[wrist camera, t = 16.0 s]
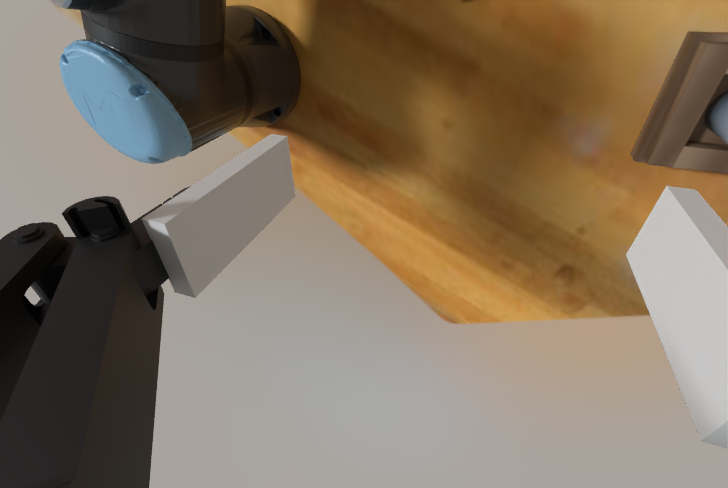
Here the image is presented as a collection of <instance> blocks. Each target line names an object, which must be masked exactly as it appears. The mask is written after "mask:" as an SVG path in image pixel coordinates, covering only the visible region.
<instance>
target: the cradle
mask: <svg viewBox="0 0 728 488" xmlns="http://www.w3.org/2000/svg"><path fill="white" fill-rule="evenodd" d="M726 91H728V33H724V32H689V31H688V33H687V35H686V37H685V39H684V41H683V43H682V46H681V48H680V50H679V52H678V54H677V56H676V58H675V60H674V63H673V65H672V67H671V69H670V71H669V73H668V75H667V77H666V80H665V82H664V84H663V86H662V88H661V90H660V92H659V95H658V97H657V99H656V101H655V103H654V105H653V107H652V109H651V112H650V114H649V116H648V118H647V120H646V122H645V124H644V126H643V129H642V131H641V133H640V135H639V137H638V139H637V141H636V143H635V146H634V148H633V150H632V152H631V154H630V155H631V156H632V158H633V160H634V161H637V162H645V163H647V164H649V165H657V166H666V167H674V168H682V169H691V170H699V171H707V172H716V173H724V174H728V144H727V143H725V142H724V141H723V140H722V139H720V138H719V137H718V136H717V135H715V134H714V133H713V132H712V131H710V130H709V129H708V128H707V126H706V124H705V121H704V117H705V113H706V111H707V108H708V107H709V105H710V104H711V103H712V102H713V101H714V100H715V99H716V98H717V97H718V96H720V95H721V94H723V93H724V92H726Z"/></svg>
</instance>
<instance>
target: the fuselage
mask: <svg viewBox="0 0 728 488" xmlns="http://www.w3.org/2000/svg"><path fill="white" fill-rule="evenodd" d="M704 121H705V124H706V126H707V128H708V129H709V130H710V131H712V132H713V133H714V134H715V135H717V136H718V137H719V138H720V139H722V140H723V141H724V142H725V143H727V144H728V91H726V92H724V93H723V94H721V95H720V96H718V97H717V98H716V99H715V100H714V101H713V102H712V103H711V104H710V105H709V107H708V108H707V111H706V113H705V117H704Z"/></svg>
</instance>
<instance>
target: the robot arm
mask: <svg viewBox="0 0 728 488" xmlns="http://www.w3.org/2000/svg"><path fill="white" fill-rule="evenodd" d="M50 1H51V2H52V3H53V4H55V5H56V6H57V7H61V8H66V9H78V10H81V15H82V20H83V25H84V30H85V35H86V40H85V39H83V40H76V41H74V42H73V43H72V44H71V45H69V46H67V47H66V48H65V49H64V54H62V55H61V57H60V70H61V76H62V79H63V82H64V85H65V87H66V89H67V92H68V94H69V96H70V98H71V100H72V101H73V103H74V105H75V106H76V108H77V109H78V111H79V112H80V114H81V115H82V116H83V117H84V119H85V120H86V121H87V122H88V124H89V125H90V126H91V127H92V128H93V129H94V130H95V131H96V132H97V133H98V134H99V135H100V136H101V137H102V138H103V139H104V140H105V141H106V142H107V143H109V144H110V145H111V146H112V147H114V148H115V149H117V150H118V151H119V152H121V153H123V154H124V155H126V156H128V157H130V158H132V159H135V160H137V161H140V162H145V163H151V164H156V163H163V162H166V161H168V160H171V159H173V158H176V157H178V156H185V155H187V154H188V153H189V152H191V151H193V150H195V149H197V148H199V147H201V146H203V145H204V144H206V143H208V142H210V141H212V140H214V139H216V138H218V137H219V136H221V135H223V134H225V133H227V132H229V131H231V130H232V129H234V128H236V127H264V126H269V125H272V124H274V123H276V122H277V121H279V120H281V119H283V118H284V117H286V116H287V115H288V114H289V113H290V112H291V110H292V109H293V107H294V106H295V104H296V101H297V99H298V95H299V90H300V70H299V64H298V60H297V57H296V54H295V51H294V48H293V46H292V44H291V42H290V40H289V38H288V37H287V35H286V34H285V32H284V31H283V29H282V28H281V27H280V26H279V25H278V24H277V22H276V21H275V20H273V19H272V18H271V17H270V16H269V15H267V14H266V13H264V12H263V11H261V10H259V9H257V8H254V7H251V6H247V5H234V6H226V0H50ZM294 197H295V189H294V181H293V174H292V167H291V159H290V152H289V145H288V137H287V136H281V135H274V134H270V135H269V136H267V137H266V138H264V139H262V140H261V141H259V142H258V143H256V144H255V145H253V146H252V147H250V148H249V149H247V150H246V151H244V152H243V153H241V154H240V155H238V156H237V157H235V158H233V159H232V160H230V161H229V162H227V163H226V164H224V165H223V166H221V167H220V168H218V169H217V170H215V171H214V172H212V173H211V174H209V175H208V176H206V177H205V178H203V179H202V180H200V181H198V182H197V183H195V184H194V185H192V186H190V187H188V188H185V189H183V190H181V191H180V192H179V193H177V194H175V195H174V196H173V198H169V199H168V200H166V201H164V202H163V204H160V205H158V206H157V207H155V208H154V209H152V210H151V211H149V212H148V213H146V214H144V215H143V216H141V217H140V218H138V219H137V220H135V221H134V222H132V223H131V224H130V222H129V220H128V218H127V216H126V214H125V211H124V209H123V207H122V205H121V203H120V201H119V200H118V199H116V198H115V197H109V196H102V197H95V198H90V199H85V200H83V201H80V202H78V203H75V204H74V205H72V206H70V207H68V208H67V209H66V210H65V211H64V212H63V213H62V215H63V216H64V218H65V220H66V221H67V223H68V224H69V226H70V228H71V229H72V231H73V232H74V234H75V236H76V237H64V235H63V234H62V232H61V231H60V229H59V228H58V226H57V225H56V224H53V223H48V222H47V223H46V222H42V223H32V224H28V225H27V226H26V225H24V226H21V227H19V228H18V229H17V230H15V231H12V232H10V233H9V234H7V235H6V236H4V237H3V238H2V239H1V240H0V488H149V481H150V468H151V455H152V442H153V429H154V417H155V403H156V391H157V378H158V365H159V352H160V340H161V327H162V314H163V301H164V292H163V289H162V287H161V284H162V283H164V282H165V281H166V280H167V279H168V278H169V280H170V282H171V284H172V286H173V288H174V291H175V292H177V293H180V294H184V295H187V296H191V297H194V298H196V297H197V296H198V294H199V293H200V292H202V290H204V288H205V287H206V286H207V285H208V284H209V283H210V282H211V281H212V280H213V279H214V278H215V277H216V276H217V275H218V274H219V273H220V272H221V271H222V270H223V269H224V268H225V267H226V266H227V265H228V264H229V263H230V262H231V261H232V260H233V259H234V258H235V257H236V256H237V255H238V254H239V253H240V252H241V251H242V250H243V249H244V248H245V247H246V246H247V245H248V244H249V243H250V242H251V241H252V240H253V239H254V238H255V237H256V236H257V235H258V234H259V233H260V231H261V230H263V229H264V228H265V227H266V226H267V225H268V224H269V223H270V222H271V220H272V219H273V218H274V217H275V216H276V215H277V214H278V213H279V212H280V211H281V210H282V209H283V208H284V207H285V206H286V205H287V204H288V203H289V202H290V201H291V200H292V199H293V198H294ZM626 256H627V259H628V261H629V264H630V266H631V269H632V271H633V274H634V276H635V279H636V281H637V284H638V286H639V289H640V291H641V293H642V296H643V298H644V301H645V303H646V306H647V308H648V311H649V313H650V316H651V318H652V321H653V323H654V326H655V328H656V331H657V333H658V335H659V338H660V341H661V343H662V345H663V348H664V350H665V353H666V355H667V358H668V360H669V363H670V365H671V368H672V370H673V372H674V375H675V378H676V380H677V383H678V385H679V388H680V390H681V393H682V395H683V397H684V400H685V402H686V405H687V407H688V410H689V412H690V415H691V417H692V419H693V422H694V425H695V427H696V430H697V432H698V434H699V437H700V440H701V441H703V442H707V443H710V444H714V445H717V446H721V447H724V448H728V227H727V225H726V224H725V223H724V222H723V221H722V219H721V218H720V217H719V216H718V215H717V214H716V212H715V211H714V210H713V209H712V208H711V207H710V205H709V204H708V203H707V202H706V201H705V200H704V198H703V197H702V196H701V195H700V194H699V193H698V191H697V190H695V189H687V188H679V187H672V186H666V188H665V189H664V191H663V193H662V194H661V196H660V198H659V200H658V201H657V203H656V205H655V206H654V208H653V210H652V212H651V213H650V215H649V217H648V218H647V220H646V222H645V223H644V225H643V227H642V229H641V230H640V232H639V234H638V235H637V237H636V239H635V240H634V242H633V244H632V246H631V247H630V249H629V251H628V252H627V254H626ZM30 286H31V287H32V288H33V289H34V291H35V292H36V293H37V294H38V296H39V297H40V298H41V299H40V301H39V302H38V303H37V304H36V305H33V304H31V303H30V302H29V300H28V299H27V298H26V297H25V296H24V294H25V292H26V291H27V289H28V288H29V287H30Z"/></svg>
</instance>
